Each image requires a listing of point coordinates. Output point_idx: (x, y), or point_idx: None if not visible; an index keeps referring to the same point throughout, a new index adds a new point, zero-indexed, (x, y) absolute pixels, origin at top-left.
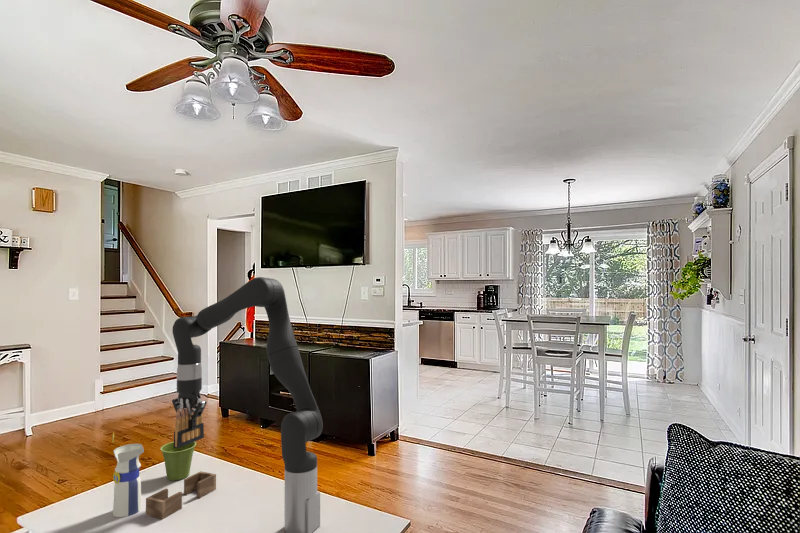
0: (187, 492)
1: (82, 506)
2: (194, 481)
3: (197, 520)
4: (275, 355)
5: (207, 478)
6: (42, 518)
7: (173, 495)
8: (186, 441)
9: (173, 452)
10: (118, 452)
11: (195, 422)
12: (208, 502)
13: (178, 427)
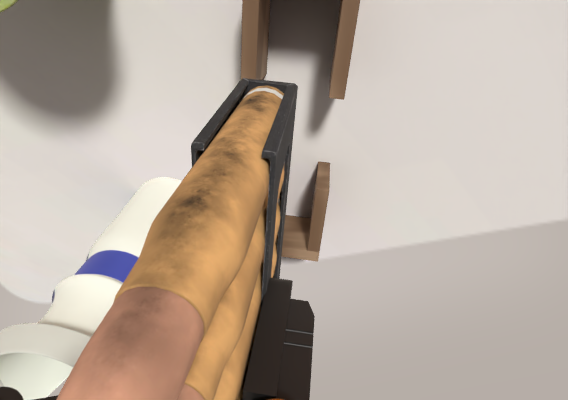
0: (265, 67)
1: (27, 218)
2: (262, 32)
3: (437, 211)
4: None
5: (349, 44)
6: (18, 278)
7: (317, 218)
8: (277, 275)
9: (13, 3)
10: (21, 376)
11: (309, 367)
12: (401, 100)
13: None
